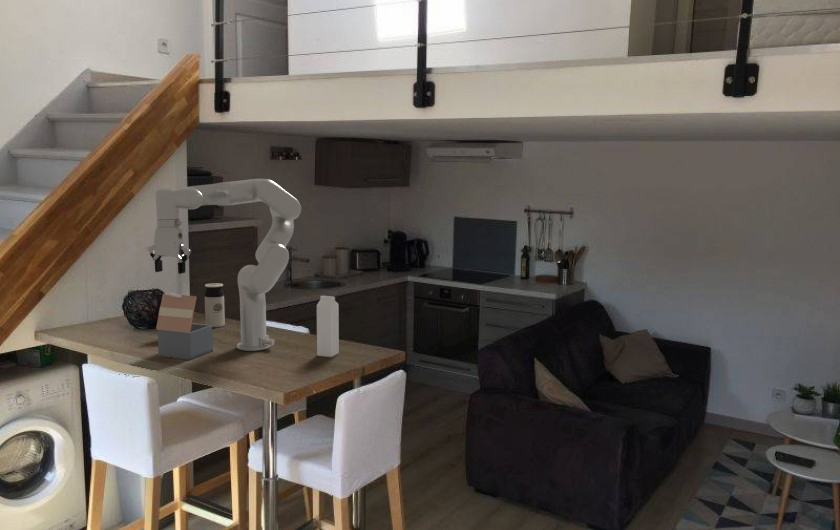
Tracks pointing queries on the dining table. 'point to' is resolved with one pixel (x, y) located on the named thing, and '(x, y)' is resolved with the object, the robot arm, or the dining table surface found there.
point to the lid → (176, 312)
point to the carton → (186, 342)
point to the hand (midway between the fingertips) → (170, 272)
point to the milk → (327, 326)
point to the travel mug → (214, 305)
